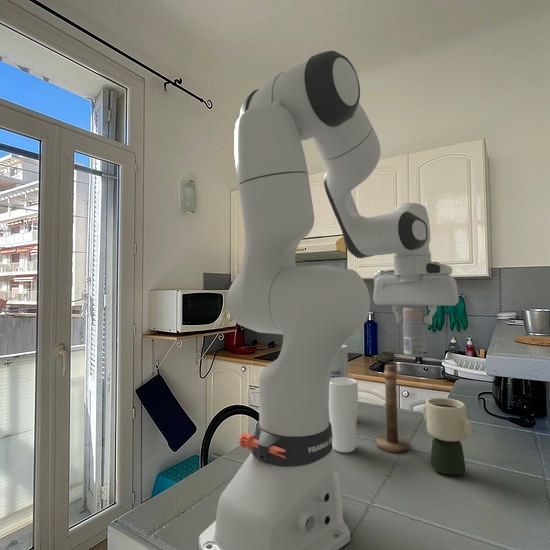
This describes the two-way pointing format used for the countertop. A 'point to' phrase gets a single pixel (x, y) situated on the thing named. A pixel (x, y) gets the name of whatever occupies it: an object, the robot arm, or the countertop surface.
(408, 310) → the energy drink
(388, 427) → the post
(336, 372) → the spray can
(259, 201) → the robot arm
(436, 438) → the character mug
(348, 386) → the white tumbler
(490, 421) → the countertop surface
